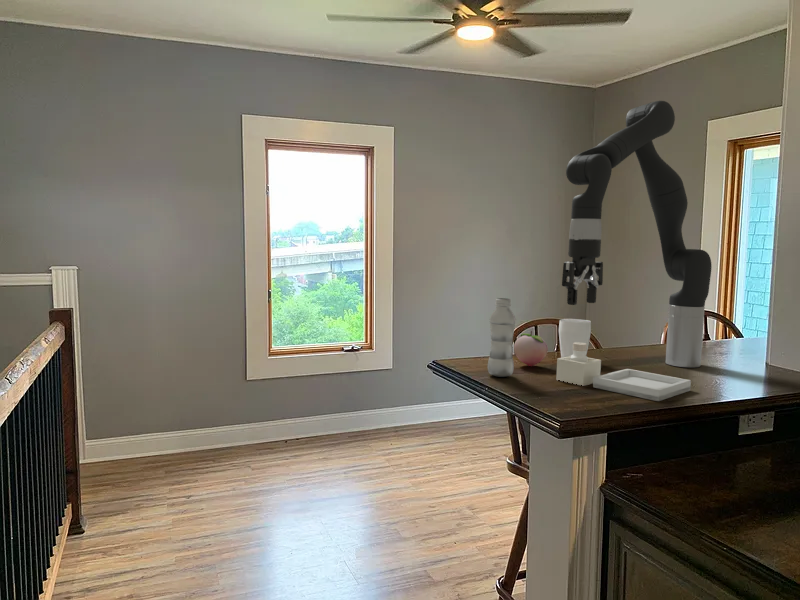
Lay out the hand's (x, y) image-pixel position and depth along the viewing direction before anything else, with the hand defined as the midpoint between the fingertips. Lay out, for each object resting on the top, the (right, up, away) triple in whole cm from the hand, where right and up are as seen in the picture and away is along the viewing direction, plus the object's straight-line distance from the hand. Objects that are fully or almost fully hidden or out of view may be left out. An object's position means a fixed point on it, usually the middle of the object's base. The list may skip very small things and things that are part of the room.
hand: (581, 303), depth 148 cm
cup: (+6, -17, +27) cm, 32 cm away
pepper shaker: (0, -20, +2) cm, 20 cm away
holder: (0, -19, +2) cm, 19 cm away
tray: (+13, -20, -5) cm, 25 cm away
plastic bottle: (-19, -19, +5) cm, 27 cm away
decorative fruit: (-9, -18, +18) cm, 27 cm away
